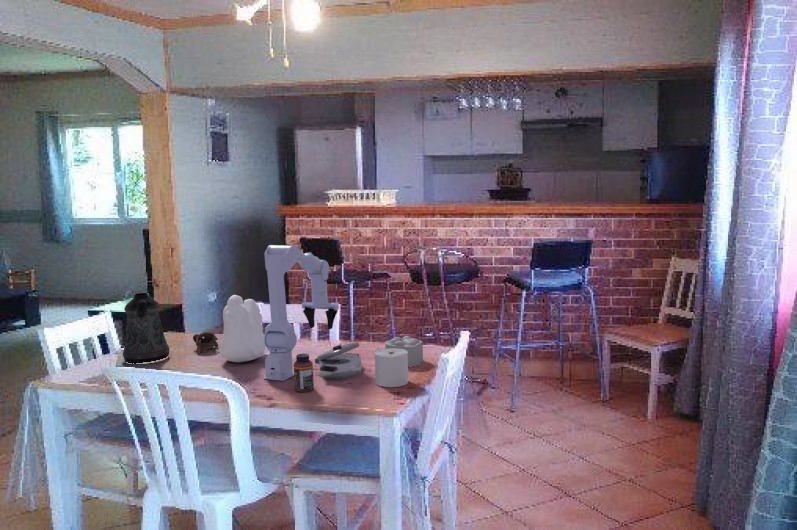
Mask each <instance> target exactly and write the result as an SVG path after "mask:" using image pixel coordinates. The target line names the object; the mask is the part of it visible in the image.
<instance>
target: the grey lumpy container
mask: <svg viewBox="0 0 797 530" xmlns="http://www.w3.org/2000/svg"><path fill="white" fill-rule="evenodd" d="M384 345H385V346H384V347H385V348H384V349H388V348H398V349H404V350H406V351H407V352H408V366H415V367H418V366H419V365H420V364H422V363H423V362H424V347H423V345H424V344H423V341H422V340H420V339H418V338H413V337H411V336H410V335H406V336H403V337H399V336H395V337H393V338H392V339H388V340H386V341H385V342H384ZM421 362H422V363H421ZM419 363H420V364H419ZM417 365H418V366H417Z"/></svg>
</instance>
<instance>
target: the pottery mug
mask: <svg viewBox="0 0 797 530" xmlns="http://www.w3.org/2000/svg"><path fill="white" fill-rule="evenodd" d="M192 340H193V342H194V343H195V345H196V346H195V347H196V352H197V353H198V352H200V353H201V352H205V351H207V350H210V349H211V348H216V347H218V348H219V343H218V342H217V341H218V340H219V338H218V337H216V335H215V334H214V333H213V332H210V331H204V332H201V333H200V334H197V333H195V334H194V335H193V337H192ZM214 346H215V347H214Z"/></svg>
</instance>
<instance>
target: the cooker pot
mask: <svg viewBox="0 0 797 530" xmlns="http://www.w3.org/2000/svg"><path fill="white" fill-rule="evenodd" d="M314 364H316V365H319V376H320V377H321V378H322V379H325V380H332V381H334V380H335V381H340V380H341V381H342V380H343V379H344V380H350V379H354V378H357V377H359V376H361V375H362V357H361V356H360V354H359V353H351V352H345V353H342V354H339V355H336V356H333V357H330V358H326V359H322V360H318V358H317V357H316V358H314ZM356 376H357V377H356ZM353 377H354V378H353Z"/></svg>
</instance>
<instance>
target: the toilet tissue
mask: <svg viewBox="0 0 797 530" xmlns="http://www.w3.org/2000/svg"><path fill="white" fill-rule="evenodd" d="M374 374H375V384H376V386H379V387H382V386H383V387H384V388H398V387H402V386H406V385H407V384H409V382H410V381H409V367H408V352H407V351H406V350H404V349H398V348H388V349H385V348H383V349H382V348H381V349H380V347H377V348H375V350H374Z"/></svg>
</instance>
